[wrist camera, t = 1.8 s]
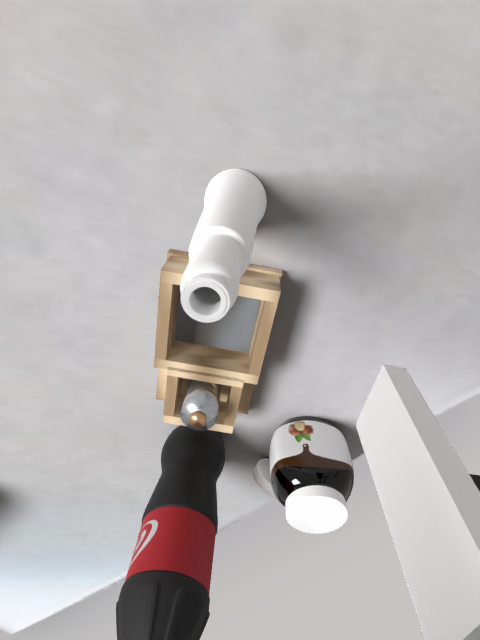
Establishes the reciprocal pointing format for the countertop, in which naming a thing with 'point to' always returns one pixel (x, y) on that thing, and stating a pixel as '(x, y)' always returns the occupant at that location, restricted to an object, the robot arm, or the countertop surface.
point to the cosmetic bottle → (222, 244)
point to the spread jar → (308, 474)
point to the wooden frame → (213, 342)
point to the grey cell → (201, 405)
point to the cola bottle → (175, 544)
